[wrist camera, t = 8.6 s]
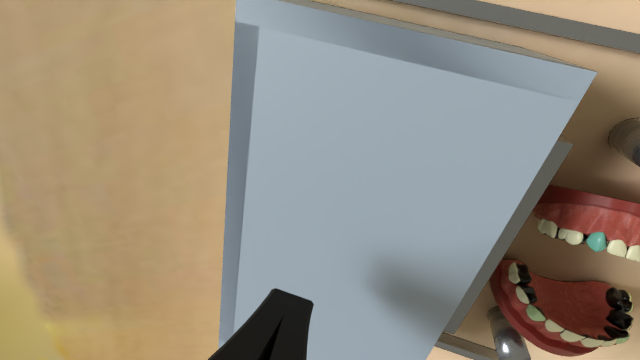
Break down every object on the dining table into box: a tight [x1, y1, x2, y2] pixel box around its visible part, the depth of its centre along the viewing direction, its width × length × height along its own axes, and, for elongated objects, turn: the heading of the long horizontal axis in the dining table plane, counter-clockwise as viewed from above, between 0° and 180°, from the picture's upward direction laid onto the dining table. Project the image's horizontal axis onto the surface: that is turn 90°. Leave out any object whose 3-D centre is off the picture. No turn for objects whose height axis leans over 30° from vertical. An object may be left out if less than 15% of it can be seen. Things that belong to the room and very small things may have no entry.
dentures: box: [489, 185, 640, 356], centre depth 16 cm, size 6×5×9 cm
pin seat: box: [393, 0, 640, 360], centre depth 17 cm, size 20×22×3 cm
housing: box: [219, 0, 597, 360], centre depth 16 cm, size 18×10×7 cm, turn 169°
